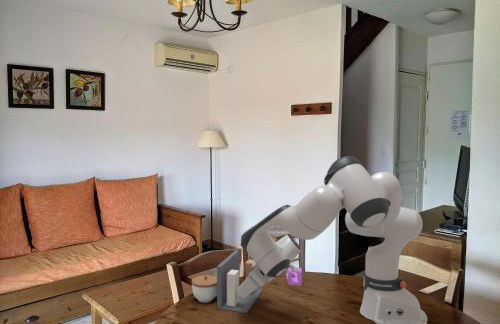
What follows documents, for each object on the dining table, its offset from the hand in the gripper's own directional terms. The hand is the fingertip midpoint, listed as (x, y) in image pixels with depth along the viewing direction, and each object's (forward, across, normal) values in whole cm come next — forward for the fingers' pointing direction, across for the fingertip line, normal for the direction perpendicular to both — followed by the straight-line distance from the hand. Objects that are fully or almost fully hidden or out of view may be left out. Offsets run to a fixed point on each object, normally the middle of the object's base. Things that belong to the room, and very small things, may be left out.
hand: (238, 292), depth 148 cm
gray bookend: (+5, -7, +3) cm, 9 cm away
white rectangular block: (+5, 0, +2) cm, 6 cm away
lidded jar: (+14, -3, -6) cm, 16 cm away
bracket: (-6, -34, +14) cm, 37 cm away
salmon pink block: (+3, -14, +4) cm, 15 cm away
